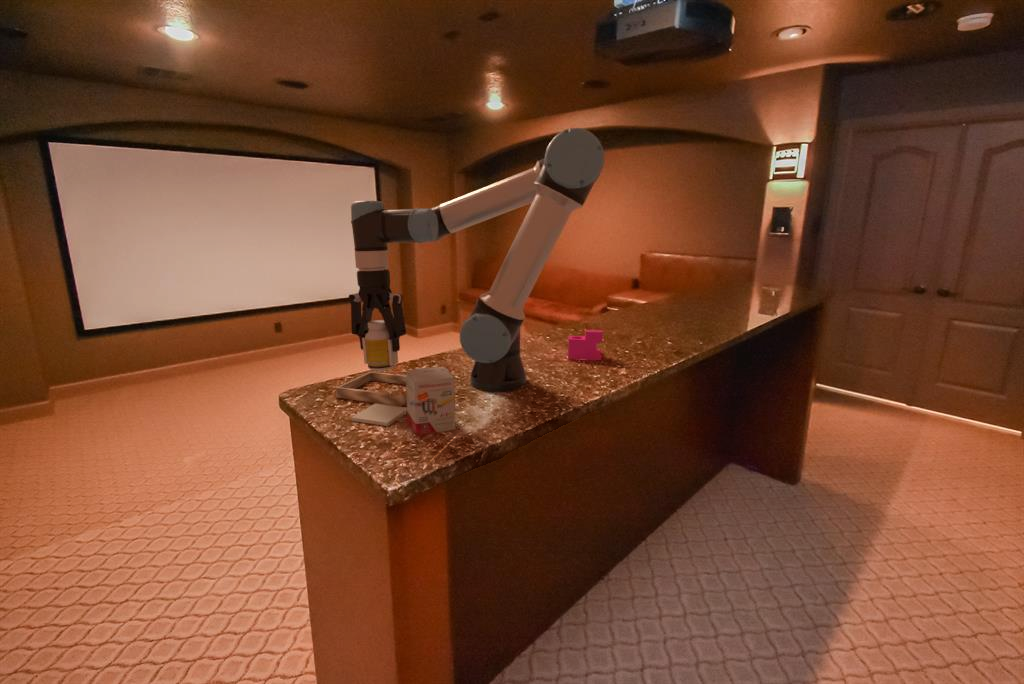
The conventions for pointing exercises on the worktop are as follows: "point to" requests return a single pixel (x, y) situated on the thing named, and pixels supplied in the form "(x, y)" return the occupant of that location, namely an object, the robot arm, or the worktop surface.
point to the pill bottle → (377, 346)
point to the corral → (351, 392)
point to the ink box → (430, 400)
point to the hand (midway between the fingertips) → (381, 363)
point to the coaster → (380, 414)
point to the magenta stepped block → (585, 345)
